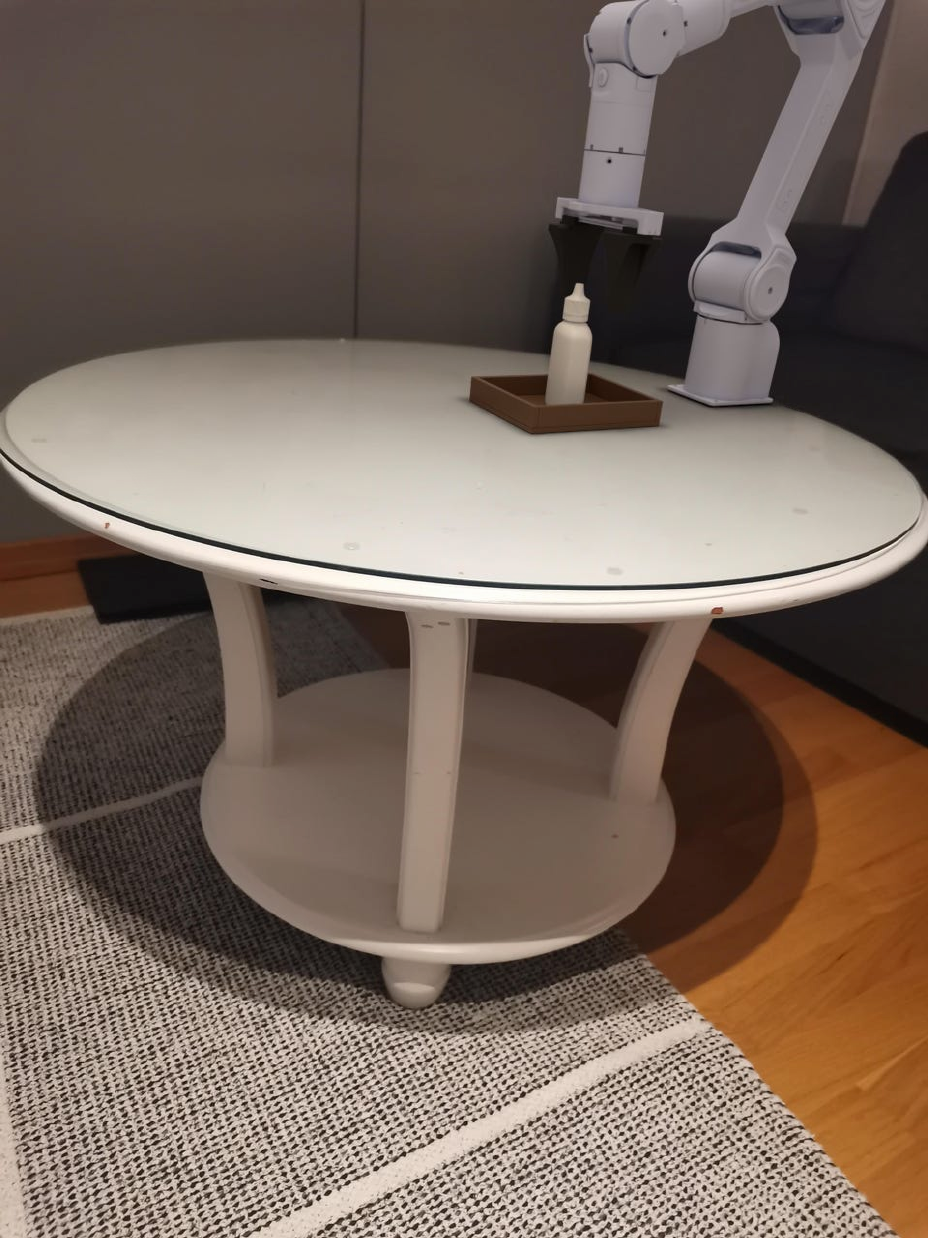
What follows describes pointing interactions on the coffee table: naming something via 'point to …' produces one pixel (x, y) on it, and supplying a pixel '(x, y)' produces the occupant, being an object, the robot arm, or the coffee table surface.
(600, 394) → the tray
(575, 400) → the eye dropper bottle
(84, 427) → the coffee table surface
